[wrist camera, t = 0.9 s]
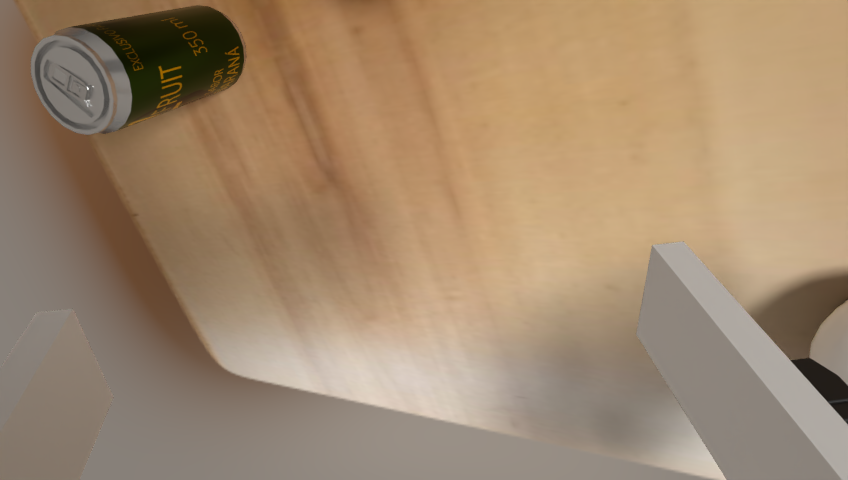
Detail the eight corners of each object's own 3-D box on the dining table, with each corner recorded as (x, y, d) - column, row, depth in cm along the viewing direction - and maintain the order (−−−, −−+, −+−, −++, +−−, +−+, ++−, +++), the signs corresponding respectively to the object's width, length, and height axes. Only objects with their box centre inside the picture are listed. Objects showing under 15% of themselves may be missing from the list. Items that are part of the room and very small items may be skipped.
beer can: (170, 59, 42) (20, 100, 32) (192, -13, 39) (34, 7, 29) (235, 103, 42) (105, 159, 32) (261, 34, 39) (128, 71, 29)
